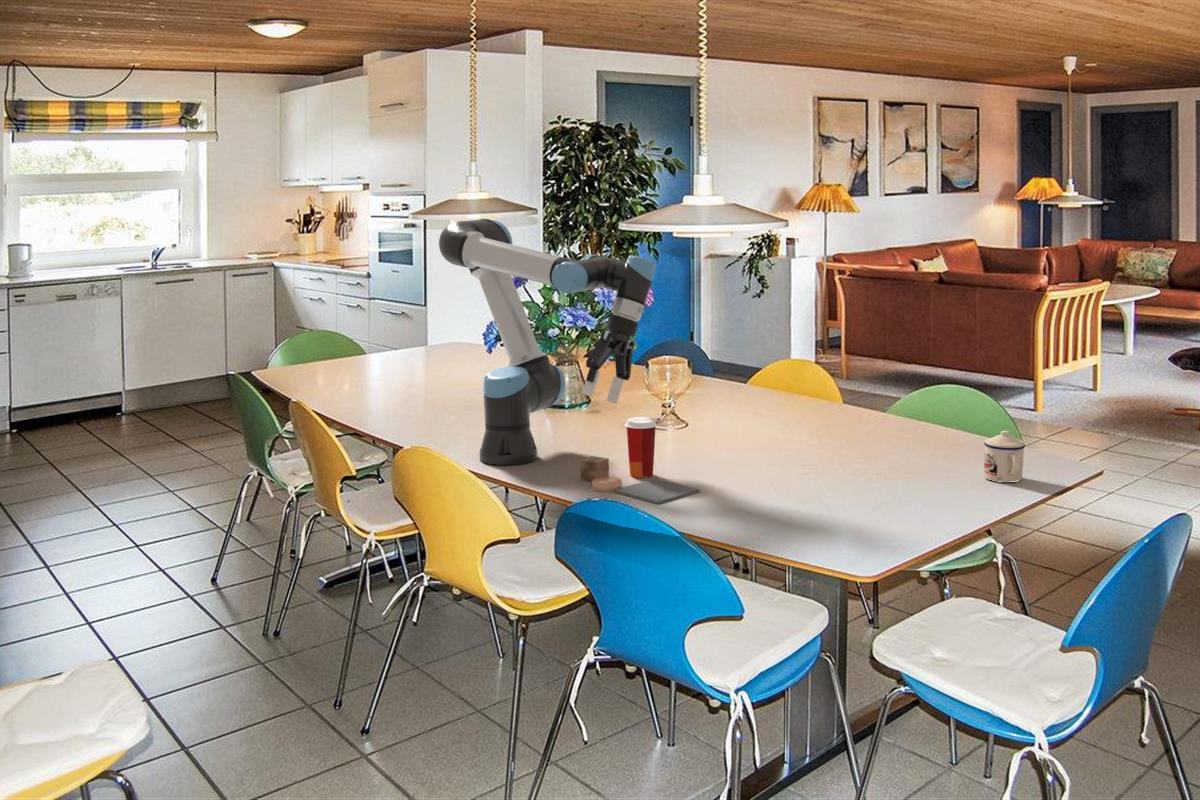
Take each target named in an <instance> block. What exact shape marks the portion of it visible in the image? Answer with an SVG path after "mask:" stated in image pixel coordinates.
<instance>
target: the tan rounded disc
mask: <svg viewBox="0 0 1200 800" xmlns="http://www.w3.org/2000/svg"><path fill="white" fill-rule="evenodd" d="M591 483H592V484H591V485H592V487H591V488H592V490H593V491H595V492H600V493H613V492H614V490H615V489H619V488H623V481H622V478H620V477H616V476H615V477H614V476H609V477H599V478H595V479H593V480H592V482H591ZM614 493H615V492H614Z"/></svg>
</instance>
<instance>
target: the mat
mask: <svg viewBox="0 0 1200 800" xmlns="http://www.w3.org/2000/svg"><path fill="white" fill-rule="evenodd" d="M699 492H700V488H696V487H692V486H689V485H683V484H681V483H676V482H673V481H668V480H665V479H660V478H657V477H655V478H652V479H647V480H645V481H641V482H637V483H634V484H630V485H626V486H622V488H619V489H615V490H614V493H615V494H620V495H623V496H625V497H630V498H634V499H637V500H642V501H644V502H648V503H651V502H652V504H655V505H659V503H660V504H663V502H664V503H667V502H670V501H673V500H672V499H674V500H676V498H677V499H679V498H683V496H684V497H686V496H690V495H693V494H697V493H699ZM669 500H670V501H669ZM666 501H667V502H666Z"/></svg>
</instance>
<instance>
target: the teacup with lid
mask: <svg viewBox="0 0 1200 800" xmlns="http://www.w3.org/2000/svg"><path fill="white" fill-rule="evenodd" d="M1010 434H1011V433H1010V431H1008V430H1002V431H1000V434H998V435H995V436H994V437H989V438H986V439H985V441H984V443H983V444H984V445H985V446H984V448H985V449H984V464H983V477H985V478H987V479H990V480H994V481H1001V482H1010V481H1017V480H1021V479H1022V480H1023V469H1024V467H1023V466H1024V456H1025V455H1024V454H1025V453H1024V450H1025V447H1026V443H1025V442H1024V441H1023V440H1022V439H1019V438H1017V437H1015V436H1014V435H1010ZM985 478H984V479H985ZM987 479H986V480H987ZM1022 480H1021V481H1022Z"/></svg>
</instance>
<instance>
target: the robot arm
mask: <svg viewBox="0 0 1200 800" xmlns="http://www.w3.org/2000/svg"><path fill="white" fill-rule="evenodd" d="M512 238H513V237H512V235H511V233H510V230H509V229H508V228H507V227H506V226H505V225H504V224H503V223H502V222H501V221H498V220H496V219H489V218H480V219H470V220H458V221H454V222H452V223H449V224H448V225H447V226H445V228H443V230H442V231H441V233H440V235H439V239H438V246H439V251H440V254H441V255H442V257H443V258H444V259H445V260H446V261H447V262H449V264H452V265H454V266H459V267H464V268H466V269H468V270H469V271H470V275H471V276H472V277H474V278H477V279H478V280H479V283H480V286H481V289H482V292H483V294H484V296H485V299H486V301H487V305H488V307H489V310H490V313H491V315H492V319H493V320H494V324H495V326H496V328H497V331H498V334H499V336H500V338H501V341H502V344H503V347H504V349H505V350H504V351H505V352H506V354H507V358H508V360H509V363H508V365H507V366H506V367H498V368H495V369H492V370H490V371H489V372H487V373H486V374H485V376H484V377H483V378H484V379H483V388H482V391H483V401H484V402H483V404H484V424H485V425H484V427H485V428H484V434H483V438H482V440H481V441H482V443H481V447H480V448H479V461H481V462H482V463H484V462H485V463H484V464H487V463H488V464H487V465H493V464H496V466H514V465H522V464H528V463H531V462H533V461H536V460H537V459H538V448H537V446H536V442H535V439H534V436H533V433H532V431H531V424H530V423H531V422H530V420H531V418H530V417H531V415H530V414H531V413H532V414H533V413H534V412H538V411H541V410H546V409H548V408H551V407H552V406H553V405H556V404H557V403H558V402H560V401H561V400H562V397H563V396H564V394H565V390H566V379H565V376H564V373H563V371H562V370H561V368H560V367H558V366H556V365H555V364H553V363H551V361H550V358H549V357H548V354H547V353H545V352H543V351H542V350H540V348H539V346H538V343H537V340H536V338H535V335H534V331H533V330H532V327H531V325H530V321H529V319H528V316H527V313H526V310H525V308H524V306H523V302H522V300H521V298H520V295H519V292H518V290H517V287H516V285H515V282H514V279H513V277H516V278H521V279H524V280H529V281H533V282H536V283H540V284H543V285H547V286H551V287H554V288H555V289H556V290H557V291H558V292H560V293H563V294H576V293H579V292H584V291H590V290H595V289H601V288H602V289H608V290H610V291H615V292H616V296H615V298H614V301H613V305H612V308H611V310H610V311H611V313H612V314H611V315H609V317H608V320H607V324H606V329H607V330H609V331H607V330H602V332H601V334H600V337H599V340H598V341H597V342H596V344H595V346H594V348H593V349H592V351H591V352H590V353H589V354H590V355H589V356H588V358H587V359H586V361H585V364H586V365H585V367H586V368H589V370H588V373H587V375H586V379H585V382H584V385H583V388H582V390H581V391H582V392H581V394H582V395H585V396H588V397H592V398H593V396H594V393H595V390H596V387H597V383H598V380H599V377H600V373H601V371H600V369H601V367H602V366H603V365H604V364H605V363H606V362H607V360H608V359H609V358H610V357H611V355H613V356H614V362H615V363H614V364H615V375H616V376H613V379H612V382H611V384H610V389H609V391H608V395H607V398H606V402H609V403H612V404H615V405H617V404H618V401H619V399H620V394H621V393H622V392H621V391H622V388H623V385H624V381H629V379H630V377H631V373H632V372H631V371H632V363H633V362H632V359H633V351H634V346H635V341H631V340H629V339H630V337H631V338H632V337H635V336H636V334H637V330H638V328H639V323H638V321H641V317H642V316H643V315H642V314H643V313H644V307H645V304H646V301H647V298H648V295H649V292H650V289H651V286H652V282H653V281H654V275H655V272H656V267H657V266H656V264H655V262H653V261H652V260H650V259H648V258H644V257H641V256H639V255H633V254H632V255H629V256H628V257H627V259H626V261H620V260H616V259H613V258H608V257H604V256H602V255H600V254H597V255H596V254H591V253H589V254H585V255H583V258H580V259H579V260H578V259H577V260H576V259H572V258H571V259H570V258H568V257H563V256H559V255H556V254H551V253H547V252H543V251H539V250H535V249H531V248H527V247H523V246H519V245H515V244H513V239H512Z"/></svg>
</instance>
